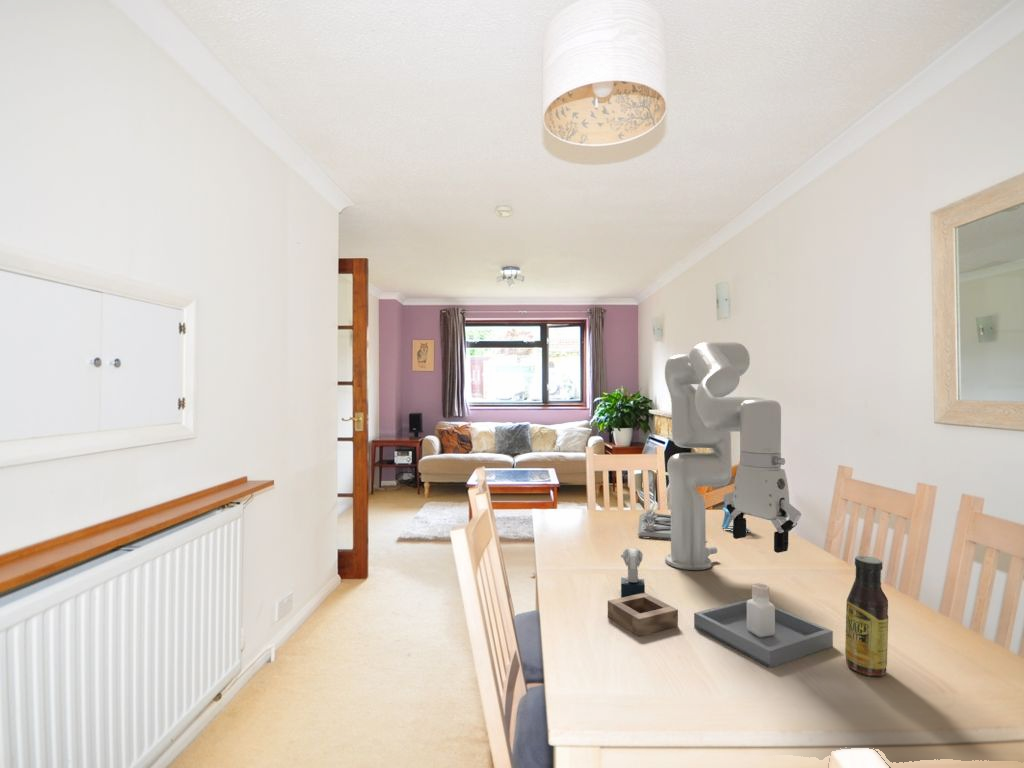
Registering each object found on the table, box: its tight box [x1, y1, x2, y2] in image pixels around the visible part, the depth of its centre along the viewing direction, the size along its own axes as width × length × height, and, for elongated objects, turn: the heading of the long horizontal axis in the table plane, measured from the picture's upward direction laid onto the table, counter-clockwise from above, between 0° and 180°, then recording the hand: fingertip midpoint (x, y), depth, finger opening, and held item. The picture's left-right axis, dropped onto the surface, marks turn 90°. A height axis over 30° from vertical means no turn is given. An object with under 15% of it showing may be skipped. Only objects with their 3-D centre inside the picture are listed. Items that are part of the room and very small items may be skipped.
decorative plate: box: [637, 508, 671, 540], centre depth 189 cm, size 30×22×7 cm
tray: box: [693, 598, 834, 669], centre depth 106 cm, size 18×18×3 cm
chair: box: [721, 498, 751, 532], centre depth 188 cm, size 8×8×12 cm
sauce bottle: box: [844, 555, 889, 677], centre depth 94 cm, size 7×6×20 cm
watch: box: [620, 547, 646, 598], centre depth 128 cm, size 6×8×11 cm
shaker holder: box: [607, 592, 679, 637], centre depth 113 cm, size 10×10×4 cm
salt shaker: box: [747, 582, 776, 637], centre depth 107 cm, size 4×4×10 cm
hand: (759, 544), depth 107 cm, fingers open, 9 cm apart
